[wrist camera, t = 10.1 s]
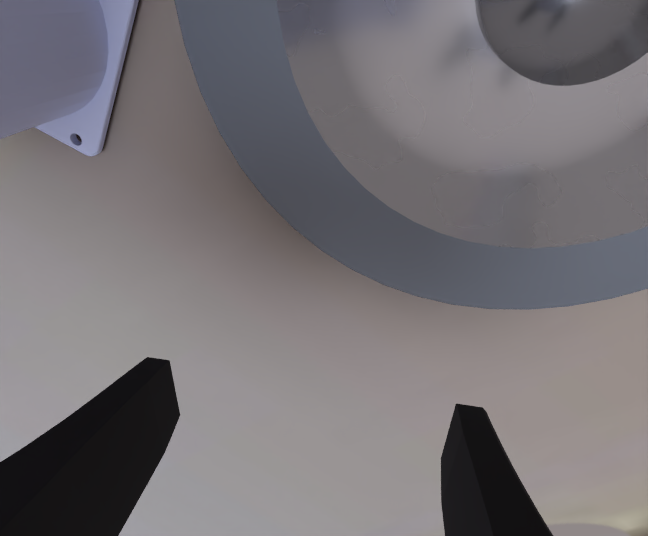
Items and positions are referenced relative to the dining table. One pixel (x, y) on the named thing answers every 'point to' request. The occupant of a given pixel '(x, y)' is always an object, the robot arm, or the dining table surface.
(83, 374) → the dining table surface
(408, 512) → the dining table surface
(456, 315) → the dining table surface
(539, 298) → the grey round plate
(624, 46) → the light grey rounded piece
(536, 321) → the dining table surface
